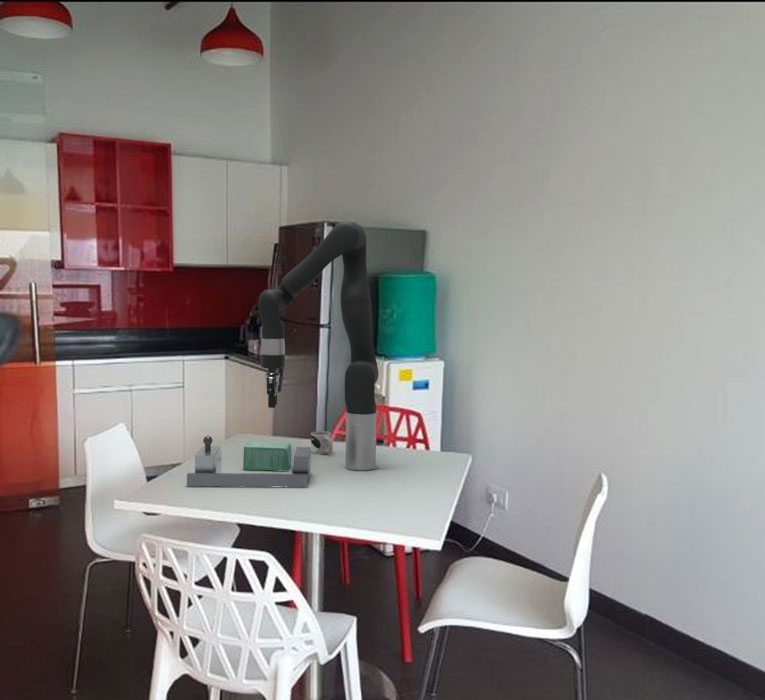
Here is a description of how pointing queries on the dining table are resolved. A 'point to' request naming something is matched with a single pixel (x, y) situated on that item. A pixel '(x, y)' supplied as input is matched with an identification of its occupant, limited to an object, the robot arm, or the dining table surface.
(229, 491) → the dining table surface
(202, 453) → the sliding jaw
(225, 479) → the vise
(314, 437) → the mug
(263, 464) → the box
